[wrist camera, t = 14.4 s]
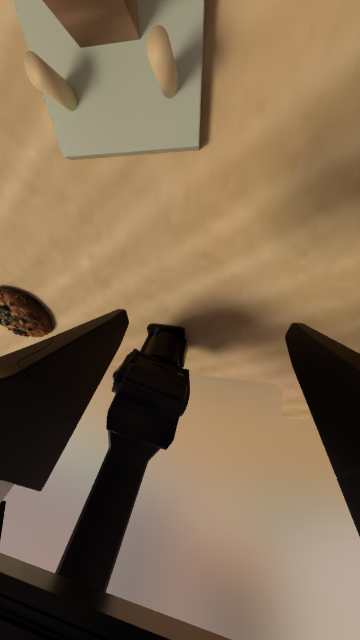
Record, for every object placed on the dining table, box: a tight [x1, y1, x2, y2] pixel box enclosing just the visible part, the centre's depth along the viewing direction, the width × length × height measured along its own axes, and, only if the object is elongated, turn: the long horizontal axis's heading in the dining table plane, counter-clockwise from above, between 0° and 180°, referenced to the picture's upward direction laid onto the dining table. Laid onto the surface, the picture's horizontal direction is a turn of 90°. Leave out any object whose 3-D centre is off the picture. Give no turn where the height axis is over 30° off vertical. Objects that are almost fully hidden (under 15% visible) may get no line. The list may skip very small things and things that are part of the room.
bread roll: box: [0, 288, 52, 337], centre depth 29 cm, size 11×11×5 cm
